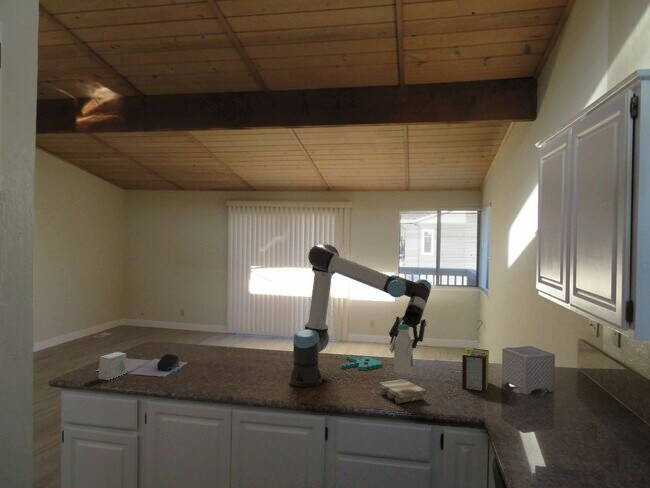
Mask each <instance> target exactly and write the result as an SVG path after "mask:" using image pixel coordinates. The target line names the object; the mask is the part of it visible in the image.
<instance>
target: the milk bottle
mask: <svg viewBox="0 0 650 488" xmlns="http://www.w3.org/2000/svg"><path fill="white" fill-rule="evenodd" d="M398 330H399V333H398V336H397V338H396V340H395V345H394V351H393V355H394V356H393V371H394V373H396V374H400V375H410V374H412V373H413V364H414V363H413V361H414V360H413V355H414V354H413V351H414V350H413V351H412V354H411V356H409V354H408V349H409V346H410V343H411V340H412V338H411V336H410V333H409V331H410V327H409V325H406V324H401V323H400V325H398Z"/></svg>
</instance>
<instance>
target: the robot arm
mask: <svg viewBox="0 0 650 488" xmlns="http://www.w3.org/2000/svg"><path fill="white" fill-rule="evenodd" d="M307 255H308V256H307V257H308V258H307V259H308V262H309V264H310V265H311V266H312V267H311V271H312V273H313V274H314V275H313V284H312V291H311V300H310V307H309V315H308V316H309V317H308V321H307V322H305V325H304V329H302V330H298V331H296V332H295V333H294V335H293V338H292V339H293V340H292V341H293V342H292V343H293V348H292V350H293V357H292V358H293V360H292V361H293V362H292V365H293V366H292V369H291V371H290V375H289V380H288V382H289V384H290V385H291V386H293V387H298V388H312V387H317V386H320V385H321V384H322V382H323V381H322V380H323V379H322V378H323V377H322V374H321V371H320V368H319V353H321V352H323V350H325V349H326V348H327V346H328V344H329V342H330V336H329V326H328V325H327V317H328V316H327V315H328V308H329V301H330V293H331V285H332V283H331V282H332V277H333V276H334V275H335V274H339V275H341V276H343V277H346V278H348V279H351V280H353V281H356V282H358V283H361V284H364V285H367V286H369V287H371V288H374V289H376V290H379V291H382V292H383V293H385V294H388V295H390V296H391V297H393V298H401V297H403V296H405V297H407V298H410V299H409V301H408V303H407V307H406V309H405V312H404V314H403V316H402V317H400V316H396V317H395V322H394V323H393V325H392V326H391V329H390V331H389V332H388V334H389V337H390V338H391V339H390V341H389V343H390V346H389V351H390V353H391V354H392V353H393V354H394V345H395V340H396V338H397V336H398V333H399V330H398V325H400V324H406V325H409V328H412V332H413V338H411V343H410V346H409V349H408V354H409V356H411V354H412V351H414V349H416V347H417V345H418V343H419V342H421V343H422V342H423V341H424V335H425V328H426V326H427V321H426V319H422V318H423V315H424V311H425V308H426V305H427V302H428V300H429V297H430V294H431V290H432V284H431V283H430V281H428V280H426V279H424V278H423V279H420V278H419V279H417V280H416V281H412V280H410V279H408V278H407V279H406V278H404V277H401V276H399V275H395V274H392V275H388V274H386V273H383V272H380V271H378V270H375V269H372V268H371V267H368V266H365V265H362V264H359V263H357V262H355V261H352V260H350V259H347V258H344V257H341V256H340V253H339V250H338V249H337V248H336V247H335V246H334V245H331V244H327V243H325V244H322V243H321V244H319V243H318V244H316V245H314V246H312V247H311V249H310V250H309V252H308V254H307ZM419 324H420V326H419V331H418V325H419ZM418 332H419V333H418Z"/></svg>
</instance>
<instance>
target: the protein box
mask: <svg viewBox="0 0 650 488" xmlns="http://www.w3.org/2000/svg"><path fill="white" fill-rule="evenodd" d="M461 355H462V363H461V365H462V366H461V367H462V370H461V371H462V372H461V376H462V377H461V379H462V380H461V385H462V387H461V388H462V389H463V390H471V391H472V390H473V391H479V392H484V391H485V392H487V389H488V385H489V367H490V365H489V364H490V363H489V361H490V360H489V359H490V357H489V356H490V350H489V349H483V348H472V347H465V350H464V351H463V353H462V354H461ZM485 392H484V393H485Z"/></svg>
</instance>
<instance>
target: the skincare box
mask: <svg viewBox="0 0 650 488" xmlns="http://www.w3.org/2000/svg"><path fill="white" fill-rule="evenodd" d="M98 361H99V364H98V365H99V367H98V379H99V380H105V381H110V379H111V380H113V378H114V379H116V377H117V378H119V377H118V376H120V377H122V376H124V375H123V374H125V375H126V369H127V367H126V365H127V352H126V353H125V352H120V351H114V352H112V353H108V354H105V355H101V356H99V360H98ZM121 375H122V376H121Z"/></svg>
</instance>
